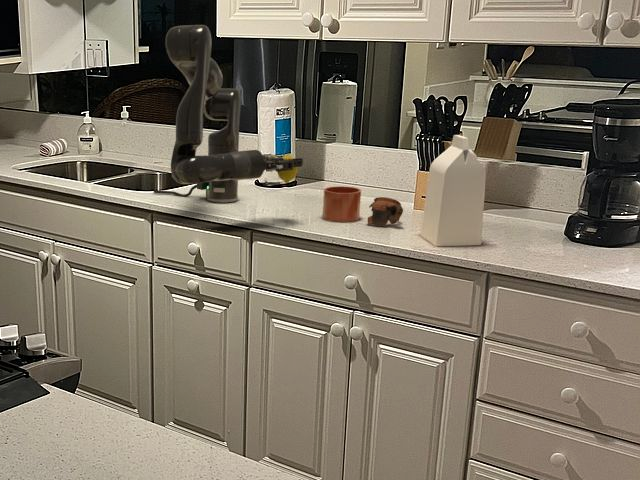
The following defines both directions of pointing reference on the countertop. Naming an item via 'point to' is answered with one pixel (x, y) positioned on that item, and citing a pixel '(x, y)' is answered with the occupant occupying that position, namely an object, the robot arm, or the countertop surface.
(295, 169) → the lemon
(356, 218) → the crock
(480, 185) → the milk
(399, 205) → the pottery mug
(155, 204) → the countertop surface
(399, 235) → the countertop surface
